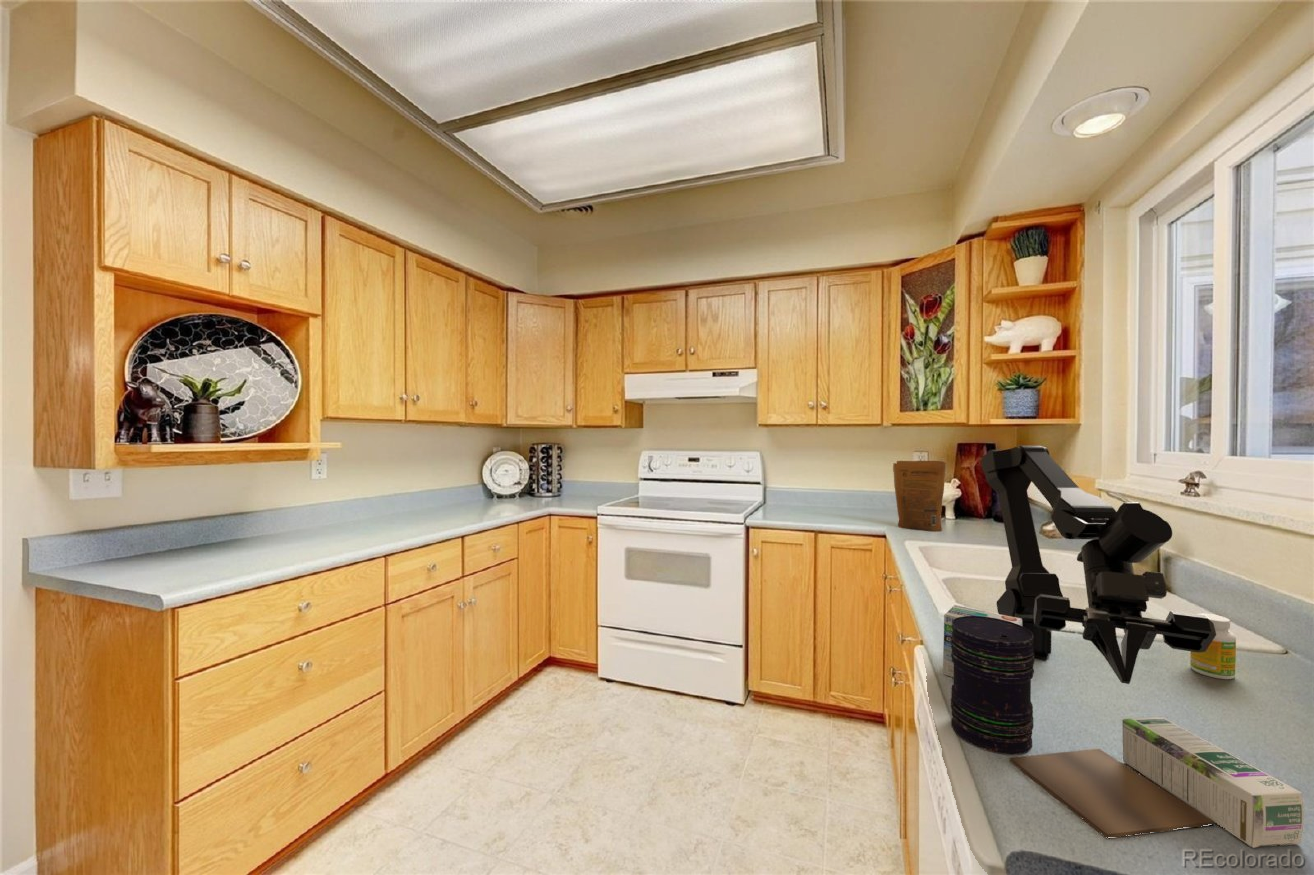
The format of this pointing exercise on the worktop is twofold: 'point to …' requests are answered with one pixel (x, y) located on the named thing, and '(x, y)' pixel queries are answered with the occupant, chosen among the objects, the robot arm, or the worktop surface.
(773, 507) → the worktop surface
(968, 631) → the black ridged cylinder
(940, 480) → the pancake mix bag
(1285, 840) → the syrup box
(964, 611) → the light bulb box
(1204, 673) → the supplement bottle
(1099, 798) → the plate
